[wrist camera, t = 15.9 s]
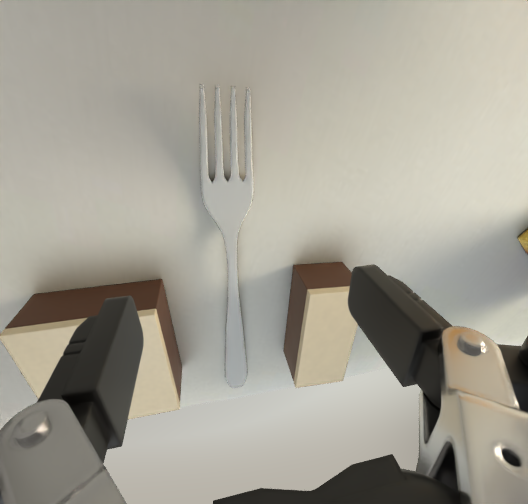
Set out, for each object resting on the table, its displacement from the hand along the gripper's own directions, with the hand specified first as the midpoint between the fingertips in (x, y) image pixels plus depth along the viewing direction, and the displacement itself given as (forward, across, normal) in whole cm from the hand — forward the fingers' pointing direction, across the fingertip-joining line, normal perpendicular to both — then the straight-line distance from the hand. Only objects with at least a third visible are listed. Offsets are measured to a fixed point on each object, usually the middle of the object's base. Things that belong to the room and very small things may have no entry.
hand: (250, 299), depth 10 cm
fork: (+9, 0, +5) cm, 11 cm away
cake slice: (+9, -6, +9) cm, 14 cm away
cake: (+9, +9, +9) cm, 16 cm away
